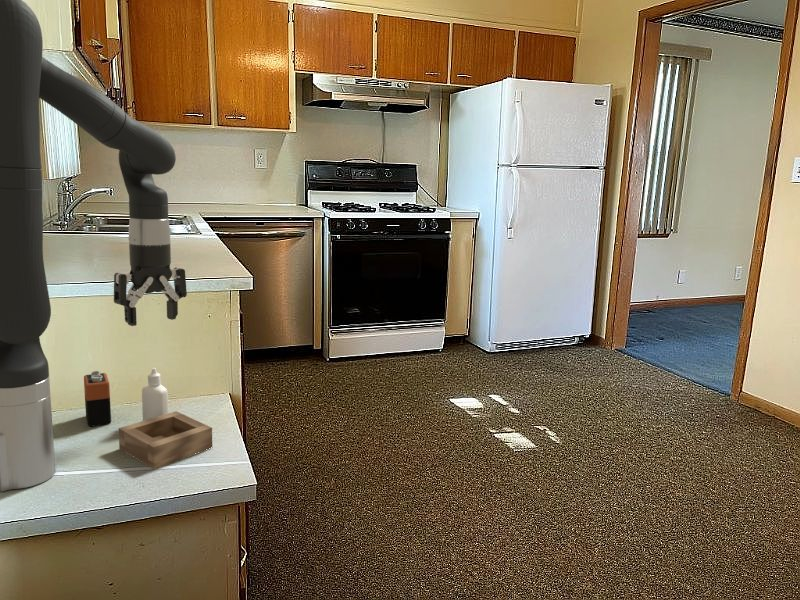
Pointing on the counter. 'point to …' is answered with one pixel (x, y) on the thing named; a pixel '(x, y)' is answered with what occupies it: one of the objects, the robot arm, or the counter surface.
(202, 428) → the walnut open box
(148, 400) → the eye dropper bottle
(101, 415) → the battery
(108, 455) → the counter surface
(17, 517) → the counter surface
